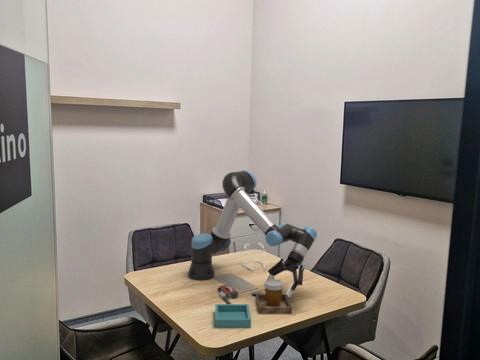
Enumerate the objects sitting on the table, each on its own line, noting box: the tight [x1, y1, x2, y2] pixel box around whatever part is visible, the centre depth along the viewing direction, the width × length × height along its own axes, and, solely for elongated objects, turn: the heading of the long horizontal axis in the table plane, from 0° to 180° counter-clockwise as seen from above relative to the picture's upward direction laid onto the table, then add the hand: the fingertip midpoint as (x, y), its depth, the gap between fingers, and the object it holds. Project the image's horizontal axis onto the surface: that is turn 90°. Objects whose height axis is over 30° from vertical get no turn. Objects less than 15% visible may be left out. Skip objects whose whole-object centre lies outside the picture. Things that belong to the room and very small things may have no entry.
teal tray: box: [214, 303, 252, 329], centre depth 184 cm, size 15×15×4 cm
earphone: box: [241, 242, 267, 272], centre depth 255 cm, size 14×17×18 cm
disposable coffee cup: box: [263, 278, 285, 306], centre depth 197 cm, size 10×10×12 cm
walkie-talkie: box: [217, 284, 239, 304], centre depth 208 cm, size 9×4×20 cm
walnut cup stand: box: [255, 293, 293, 315], centre depth 198 cm, size 15×15×3 cm
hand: (276, 291), depth 197 cm, fingers open, 13 cm apart
